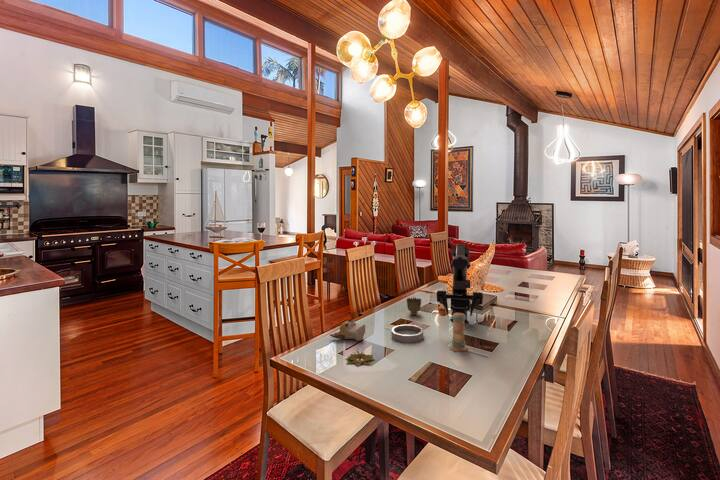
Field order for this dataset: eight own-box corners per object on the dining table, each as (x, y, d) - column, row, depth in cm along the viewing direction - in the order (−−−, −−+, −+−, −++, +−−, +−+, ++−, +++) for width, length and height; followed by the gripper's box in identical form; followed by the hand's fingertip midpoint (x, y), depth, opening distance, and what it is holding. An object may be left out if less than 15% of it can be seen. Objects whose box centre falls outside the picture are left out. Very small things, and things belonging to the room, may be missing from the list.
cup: (420, 317, 192) (421, 301, 191) (406, 316, 193) (406, 301, 192) (421, 312, 199) (421, 297, 198) (407, 311, 201) (407, 297, 200)
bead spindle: (460, 344, 157) (461, 311, 155) (470, 350, 151) (470, 315, 149) (447, 346, 155) (447, 313, 153) (456, 352, 149) (456, 317, 147)
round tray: (413, 329, 175) (413, 323, 174) (429, 339, 162) (429, 333, 162) (386, 333, 170) (386, 327, 170) (400, 344, 158) (400, 337, 157)
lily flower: (341, 367, 139) (340, 355, 139) (347, 353, 151) (347, 342, 150) (373, 369, 137) (373, 357, 137) (377, 355, 149) (377, 343, 149)
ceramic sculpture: (359, 324, 157) (327, 322, 163) (360, 345, 157) (329, 342, 164) (370, 317, 166) (339, 315, 173) (371, 336, 167) (341, 333, 174)
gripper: (436, 271, 162) (434, 304, 153) (483, 273, 157) (484, 307, 148) (438, 285, 171) (436, 317, 161) (481, 287, 166) (482, 320, 157)
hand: (459, 315), depth 157 cm, fingers open, 9 cm apart
